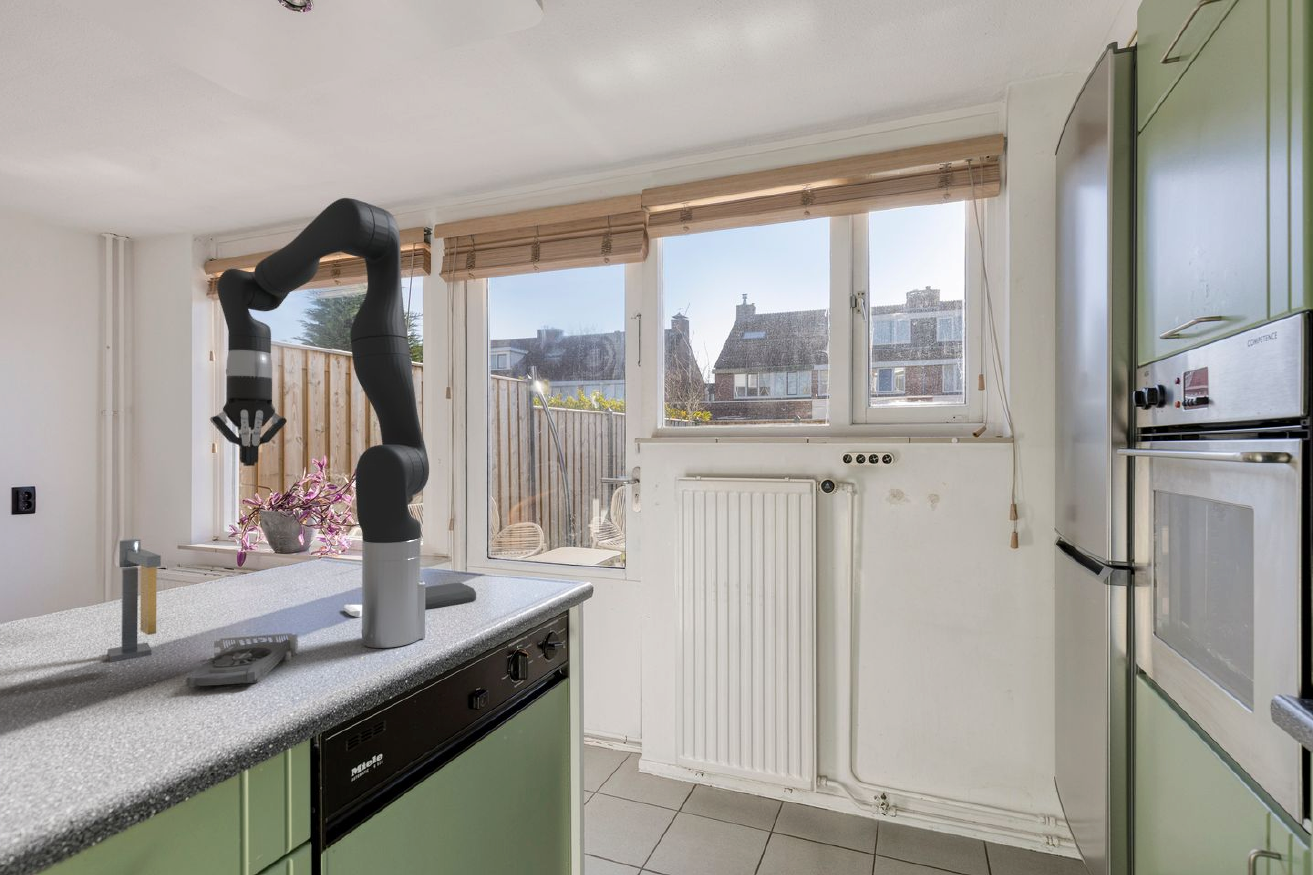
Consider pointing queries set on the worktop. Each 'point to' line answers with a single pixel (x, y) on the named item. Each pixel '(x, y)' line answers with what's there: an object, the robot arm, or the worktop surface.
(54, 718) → the worktop surface
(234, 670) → the graphics card
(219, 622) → the worktop surface
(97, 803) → the worktop surface
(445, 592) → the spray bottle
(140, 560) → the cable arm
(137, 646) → the mast
